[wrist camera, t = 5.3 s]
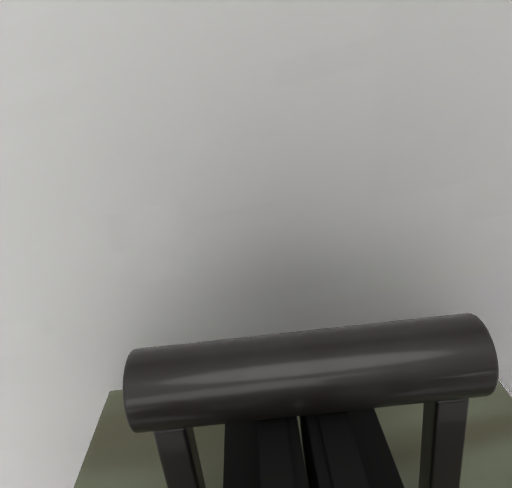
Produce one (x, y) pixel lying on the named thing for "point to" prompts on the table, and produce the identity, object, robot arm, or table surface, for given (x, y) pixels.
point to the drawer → (311, 402)
